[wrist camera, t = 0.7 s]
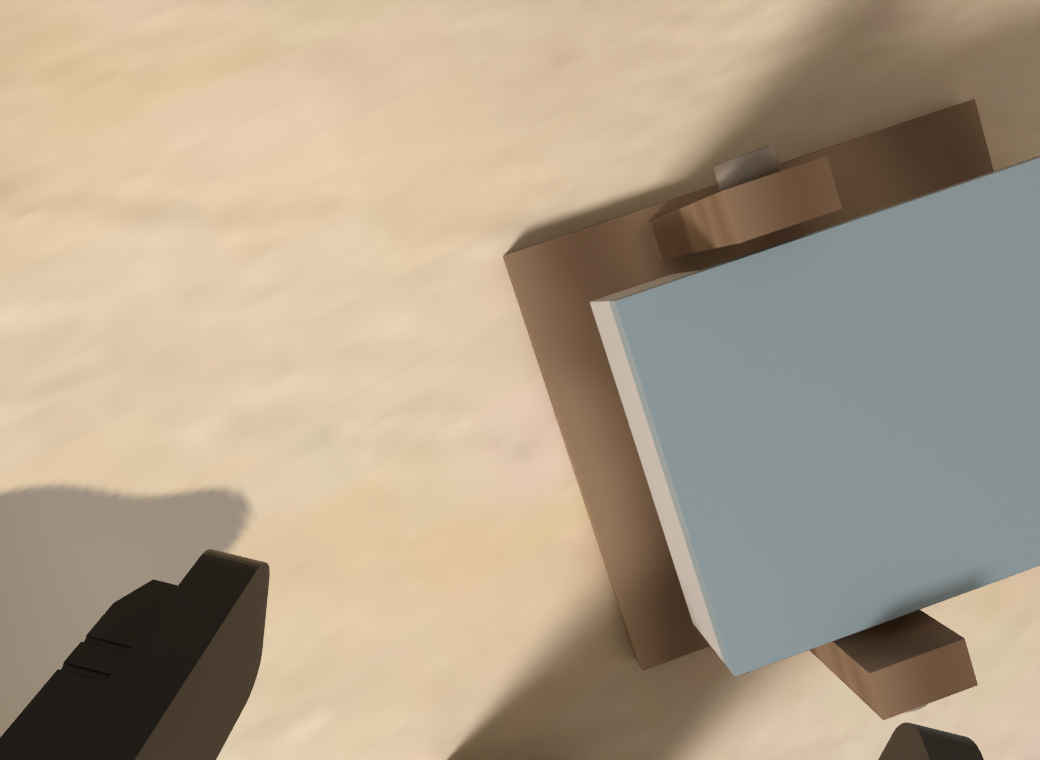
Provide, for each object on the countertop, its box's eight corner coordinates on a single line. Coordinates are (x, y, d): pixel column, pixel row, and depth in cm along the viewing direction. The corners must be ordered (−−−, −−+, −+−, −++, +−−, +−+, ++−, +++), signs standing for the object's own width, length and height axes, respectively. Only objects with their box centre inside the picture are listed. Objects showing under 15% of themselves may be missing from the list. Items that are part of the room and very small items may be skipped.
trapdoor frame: (638, 666, 35) (715, 810, 25) (500, 249, 33) (524, 224, 23) (1067, 511, 36) (1304, 590, 26) (957, 97, 34) (1167, 12, 24)
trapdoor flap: (692, 622, 31) (734, 676, 26) (589, 301, 29) (615, 301, 25) (1076, 484, 32) (1180, 514, 27) (992, 166, 30) (1087, 141, 26)
